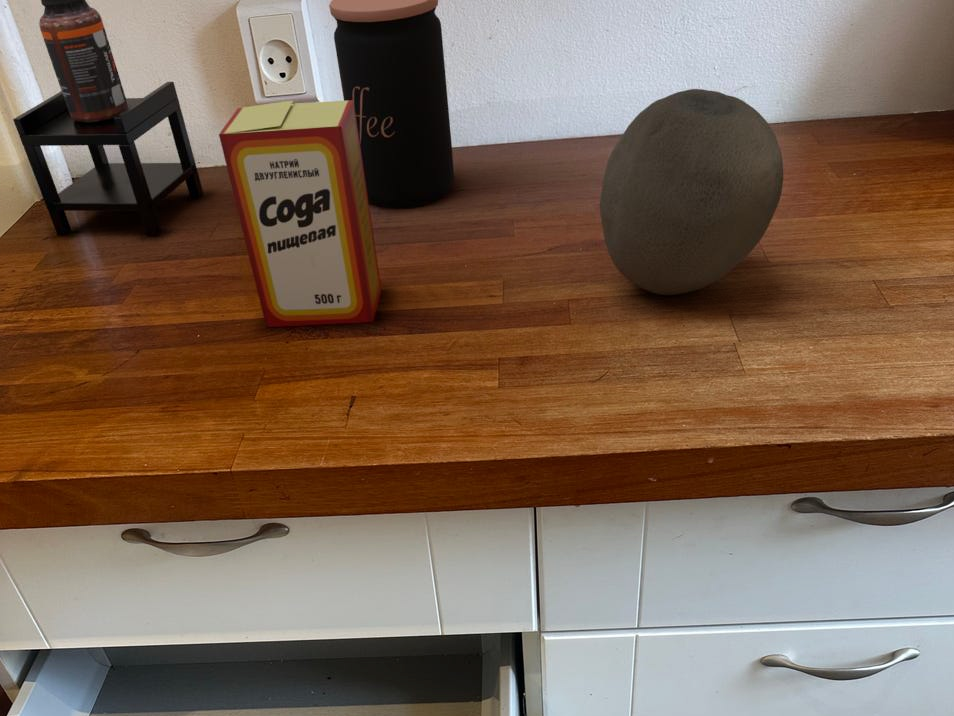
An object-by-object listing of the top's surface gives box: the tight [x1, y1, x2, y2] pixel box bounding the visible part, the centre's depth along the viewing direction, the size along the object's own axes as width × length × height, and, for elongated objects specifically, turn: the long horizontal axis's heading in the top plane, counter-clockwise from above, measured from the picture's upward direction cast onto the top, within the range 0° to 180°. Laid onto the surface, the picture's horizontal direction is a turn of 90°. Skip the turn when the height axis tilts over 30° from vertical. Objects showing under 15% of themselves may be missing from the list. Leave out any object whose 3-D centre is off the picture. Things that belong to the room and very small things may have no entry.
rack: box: [12, 81, 205, 237], centre depth 101 cm, size 12×12×12 cm
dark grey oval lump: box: [599, 88, 784, 296], centre depth 78 cm, size 14×14×15 cm
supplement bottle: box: [38, 0, 128, 123], centre depth 94 cm, size 6×6×11 cm
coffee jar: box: [328, 0, 455, 208], centre depth 98 cm, size 11×11×18 cm
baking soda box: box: [218, 99, 383, 328], centre depth 79 cm, size 10×6×16 cm
